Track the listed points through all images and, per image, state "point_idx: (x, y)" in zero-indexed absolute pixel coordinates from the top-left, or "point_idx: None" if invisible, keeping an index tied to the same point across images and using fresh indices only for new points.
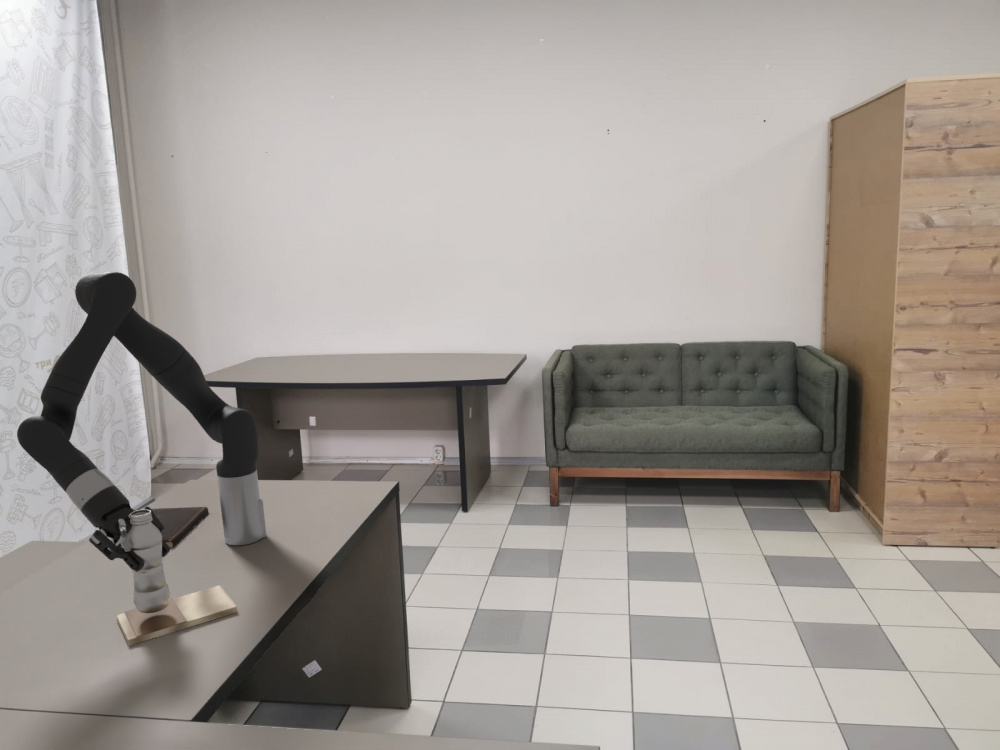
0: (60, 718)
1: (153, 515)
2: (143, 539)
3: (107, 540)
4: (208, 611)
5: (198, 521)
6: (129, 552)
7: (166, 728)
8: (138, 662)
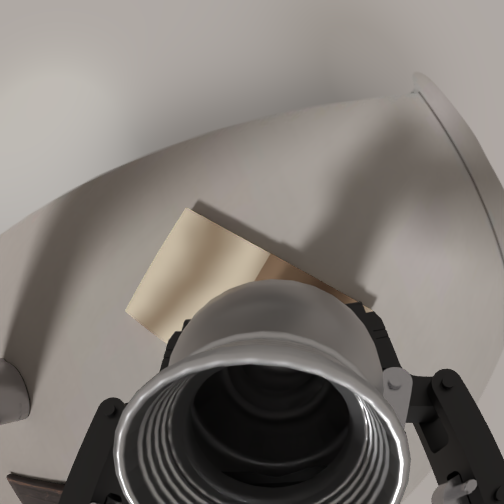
0: (500, 229)
1: (78, 477)
2: (349, 312)
3: (475, 445)
4: (220, 244)
5: (23, 477)
6: (385, 366)
7: (439, 105)
8: (396, 243)
